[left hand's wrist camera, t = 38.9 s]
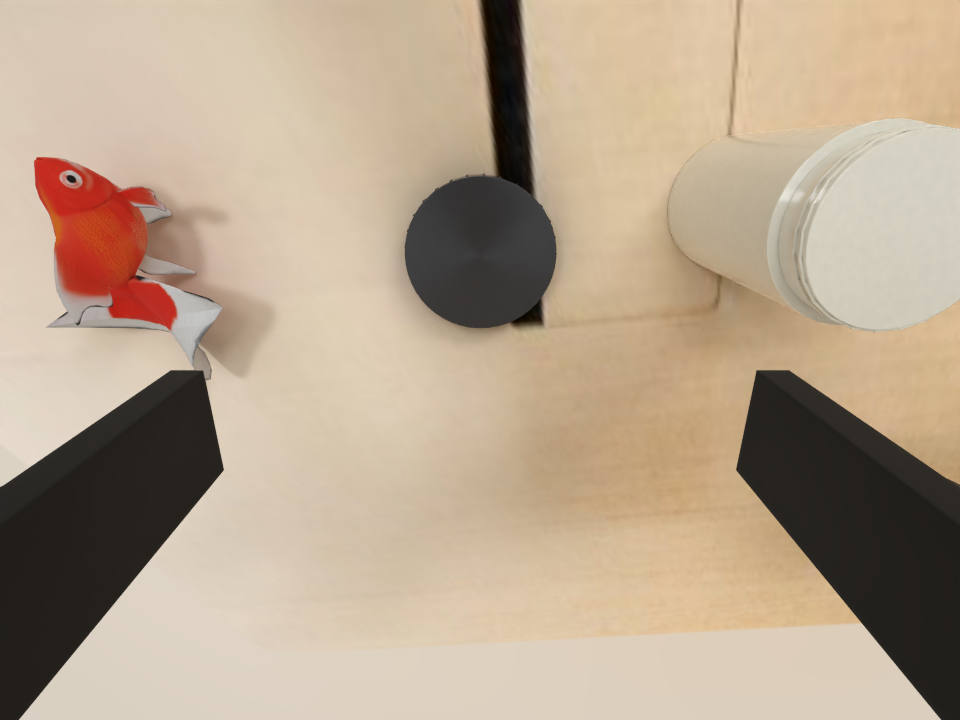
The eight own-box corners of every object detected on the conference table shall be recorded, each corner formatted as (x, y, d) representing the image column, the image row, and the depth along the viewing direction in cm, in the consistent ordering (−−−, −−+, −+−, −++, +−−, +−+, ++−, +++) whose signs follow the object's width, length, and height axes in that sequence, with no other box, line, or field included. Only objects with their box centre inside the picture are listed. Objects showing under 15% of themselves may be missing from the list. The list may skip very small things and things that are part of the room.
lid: (537, 328, 39) (541, 338, 37) (401, 308, 39) (396, 318, 36) (566, 186, 36) (572, 188, 33) (416, 162, 35) (412, 162, 33)
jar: (652, 164, 35) (776, 169, 20) (788, 110, 34) (1023, 73, 19) (684, 287, 38) (812, 368, 24) (810, 241, 37) (1027, 297, 22)
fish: (214, 138, 30) (68, 229, 24) (293, 334, 41) (209, 432, 35) (75, 118, 33) (-89, 196, 26) (185, 308, 44) (89, 394, 38)
